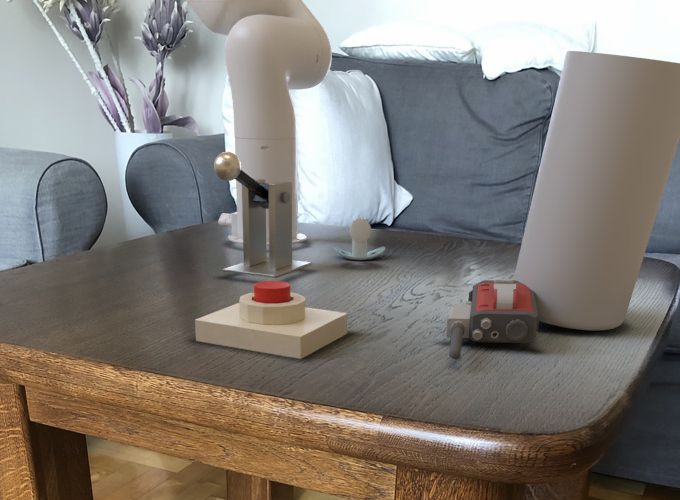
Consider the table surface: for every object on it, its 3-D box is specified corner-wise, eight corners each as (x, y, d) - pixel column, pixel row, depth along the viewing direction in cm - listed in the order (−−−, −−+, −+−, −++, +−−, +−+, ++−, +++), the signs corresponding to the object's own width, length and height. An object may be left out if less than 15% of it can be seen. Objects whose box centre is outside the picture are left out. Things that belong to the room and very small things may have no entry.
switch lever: (229, 175, 95) (234, 147, 94) (206, 174, 96) (211, 146, 96) (280, 213, 107) (285, 188, 106) (259, 211, 108) (264, 186, 108)
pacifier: (387, 270, 114) (382, 261, 119) (389, 224, 111) (385, 216, 116) (334, 270, 114) (332, 260, 119) (335, 223, 111) (333, 215, 116)
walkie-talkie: (452, 304, 91) (441, 370, 75) (453, 264, 89) (443, 323, 72) (532, 306, 90) (540, 373, 73) (536, 265, 88) (546, 325, 71)
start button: (247, 303, 81) (247, 286, 80) (266, 296, 84) (265, 279, 83) (279, 308, 79) (278, 290, 79) (296, 300, 82) (296, 283, 81)
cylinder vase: (616, 341, 83) (701, 64, 71) (496, 314, 87) (557, 47, 75) (626, 315, 93) (701, 69, 82) (519, 292, 97) (575, 54, 85)
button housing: (195, 341, 82) (193, 301, 80) (248, 319, 90) (247, 282, 88) (300, 359, 77) (301, 317, 75) (347, 334, 85) (348, 295, 83)
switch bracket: (275, 284, 105) (274, 187, 99) (222, 278, 108) (219, 182, 103) (311, 271, 113) (312, 179, 107) (261, 265, 116) (260, 176, 111)
